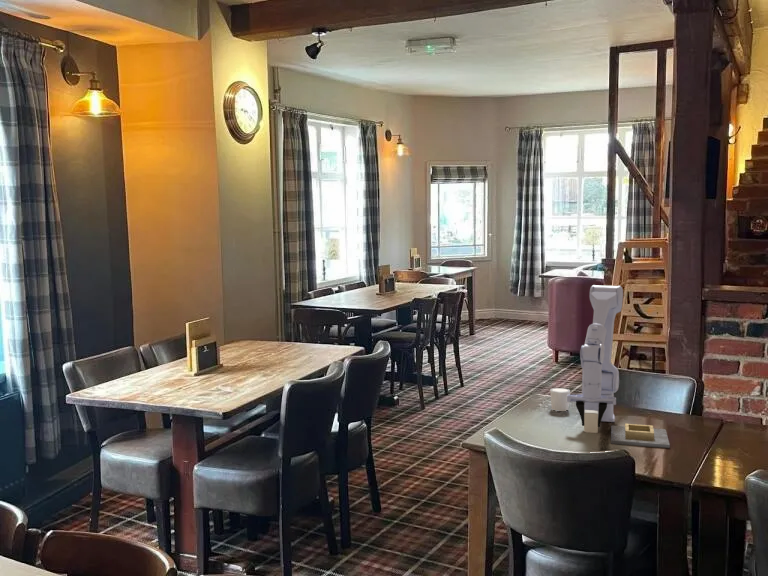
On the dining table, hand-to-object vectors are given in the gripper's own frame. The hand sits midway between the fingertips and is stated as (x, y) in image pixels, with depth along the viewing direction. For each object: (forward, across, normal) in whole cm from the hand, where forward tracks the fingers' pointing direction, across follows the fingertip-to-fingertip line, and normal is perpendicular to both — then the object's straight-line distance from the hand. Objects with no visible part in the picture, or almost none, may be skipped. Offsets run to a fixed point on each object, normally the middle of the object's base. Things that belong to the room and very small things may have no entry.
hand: (591, 425), depth 225 cm
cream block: (+2, 0, 0) cm, 2 cm away
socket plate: (+2, +14, -4) cm, 15 cm away
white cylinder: (+2, -11, +23) cm, 26 cm away
